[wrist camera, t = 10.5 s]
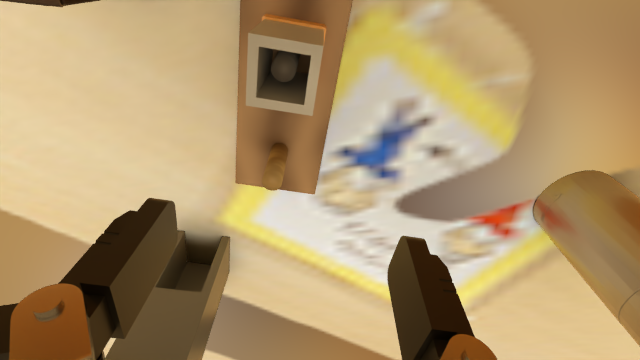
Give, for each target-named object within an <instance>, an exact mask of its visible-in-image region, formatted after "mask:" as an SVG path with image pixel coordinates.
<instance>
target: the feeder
mask: <svg viewBox="0 0 640 360" xmlns="http://www.w3.org/2000/svg"><path fill="white" fill-rule="evenodd" d="M229 258H230V237H224V236H222V239H221V241H220V244H219V246H218V249H217V252H216V254H215V257H214V260H213V262H212V265H207V264H199V263H191V262H187V254H186V242H185V231H178V239H177V244H176V247H175V250H174V252H173V254H172V256H171V258H170V259H169V261H168V263H167V265H166V266H165V268H164V270H163V272H162V274H161V275H160V277H159V279H158V281H157V282H156V284H155V286H154V288H153V290H152V291H151V293H150V295H149V297H148V298H147V300H146V302H145V304H144V306H143V307H142V309H141V311H140V313H139V314H138V316H137V318H136V320H135V322H134V323H133V325H132V327H131V329H130V330H129V332H128V334H127V336H126V338H125V339H119V338H116V340H115V342H114V343H113V345H112V347H111V349H110V350H109V352H108V354H107V356H106V358H105V360H202V357H203V354H204V351H205V348H206V344H207V341H208V338H209V335H210V331H211V328H212V325H213V322H214V319H215V315H216V312H217V309H218V306H219V303H220V300H221V297H222V293H223V290H224V287H225V284H226V281H227V277H228V274H229Z"/></svg>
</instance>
